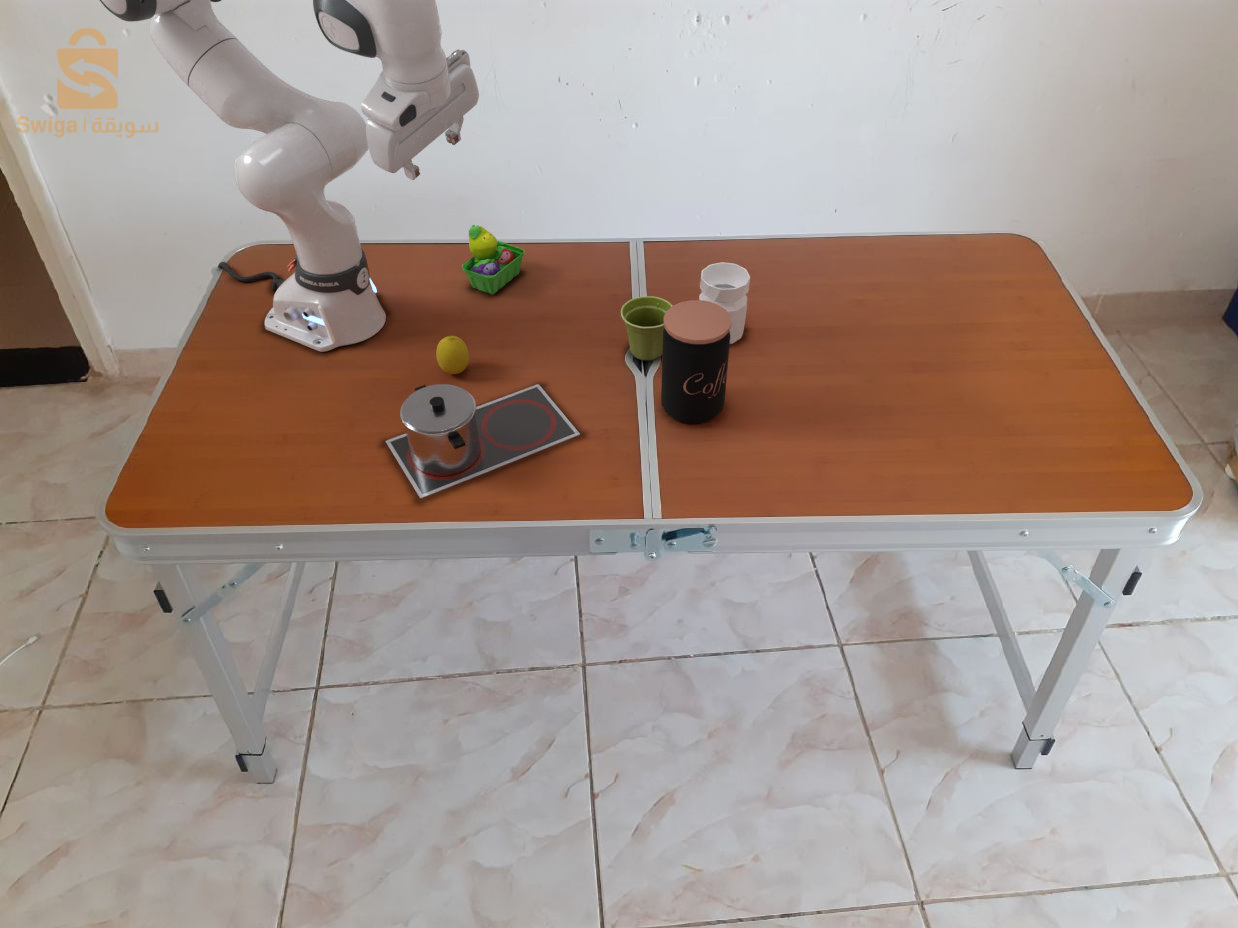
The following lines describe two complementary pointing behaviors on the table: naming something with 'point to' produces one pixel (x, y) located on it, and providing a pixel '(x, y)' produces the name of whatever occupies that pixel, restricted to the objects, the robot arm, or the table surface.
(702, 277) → the vase
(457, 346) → the lemon
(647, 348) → the plant pot
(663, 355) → the coffee jar
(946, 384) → the table surface
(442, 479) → the hob
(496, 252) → the fruit basket
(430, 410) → the steel pot
